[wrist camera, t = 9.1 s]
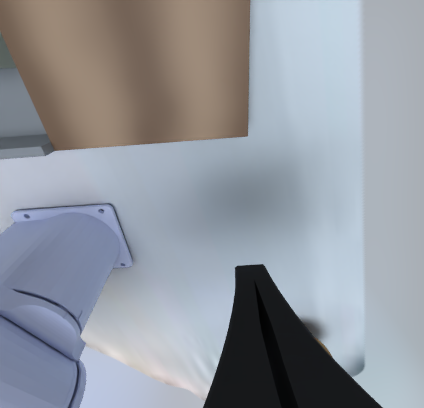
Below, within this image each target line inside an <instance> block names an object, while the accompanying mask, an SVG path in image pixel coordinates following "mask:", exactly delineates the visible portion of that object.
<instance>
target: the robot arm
mask: <svg viewBox="0 0 424 408" xmlns="http://www.w3.org/2000/svg"><path fill="white" fill-rule="evenodd" d="M101 209H103V210H104V211H102V210H101ZM27 214H28V215H27ZM11 217H12V219H13V220H14V222H15V223H14V224H12V225H11V226H10V227H9V228H7V229H6V230H5V231H4V232H2V233H1V234H0V408H79V407H80V404H81V401H82V398H83V394H84V391H85V385H86V370H85V367H84V364H83V363H82V362H81V361H80V359H79V358H80V356H81V354H82V351H83V349H84V347H85V345H86V343H85V342H84V341H83V340H82V339H81V337H80V335H81V333H82V331H83V329H84V327H85V325H86V323H87V321H88V318H89V316H90V314H91V312H92V310H93V308H94V306H95V304H96V302H97V299H98V297H99V295H100V293H101V291H102V289H103V287H104V285H105V283H106V280H107V278H108V276H109V274H110V272H111V270H112V268H124V267H131V266H132V264H133V261H132V258H131V255H130V253H129V250H128V247H127V244H126V242H125V239H124V236H123V233H122V231H121V228H120V225H119V222H118V220H117V217H116V214H115V211H114V209H113V207H112V206H111V205H109V204H103V205H89V206H75V207H60V208H46V209H31V210H17V211H14V212H12V213H11ZM203 408H382V407H381V406H380V405H379V404H378V403H377V402H376V401H375V400H374V399H373V398H372V397H371V396H370V395H369V394H368V393H367V392H366V391H365V390H364V389H363V388H362V387H361V386H360V385H358V383H357V382H356V381H355V380H354V379H353V378H352V377H351V376H350V375H349V374H348V373H347V372H346V371H345V370H344V369H343V368H342V367H341V366H340V365H339V364H338V363H337V362H336V361H335V360H334V359H333V358H332V357H331V356H330V354H329V353H328V352H327V351H326V350H325V349H324V348H323V347H322V346H321V344H320V343H319V342H318V341H317V340H316V339H315V338H314V336H313V335H312V334H311V333H310V332H309V330H308V329H307V328H306V327H305V325H304V324H303V323H302V322H301V320H300V319H299V318H298V316H297V315H296V314H295V312H294V311H293V310H292V308H291V307H290V306H289V304H288V303H287V301H286V300H285V298H284V297H283V296H282V294H281V293H280V291H279V290H278V288H277V286H276V285H275V283H274V282H273V280H272V278H271V277H270V275H269V273H268V271H267V270H266V268H265V266H264V265H263V264H261V265H245V266H237V267H235V296H234V303H233V309H232V314H231V319H230V323H229V328H228V332H227V336H226V340H225V344H224V347H223V351H222V354H221V357H220V361H219V364H218V367H217V370H216V373H215V376H214V379H213V382H212V385H211V388H210V390H209V393H208V396H207V399H206V401H205V404H204V407H203Z"/></svg>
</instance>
